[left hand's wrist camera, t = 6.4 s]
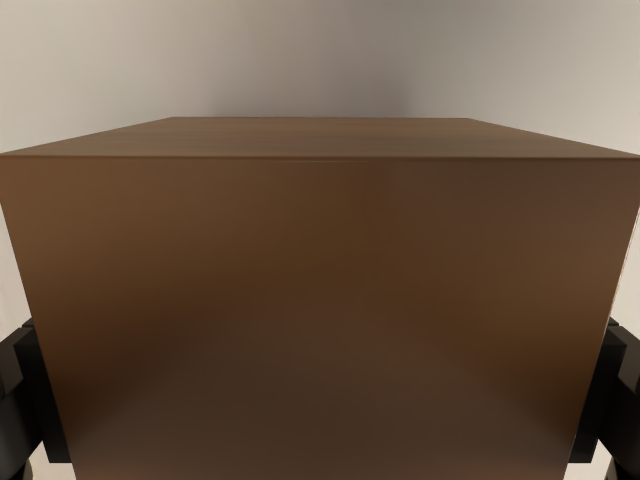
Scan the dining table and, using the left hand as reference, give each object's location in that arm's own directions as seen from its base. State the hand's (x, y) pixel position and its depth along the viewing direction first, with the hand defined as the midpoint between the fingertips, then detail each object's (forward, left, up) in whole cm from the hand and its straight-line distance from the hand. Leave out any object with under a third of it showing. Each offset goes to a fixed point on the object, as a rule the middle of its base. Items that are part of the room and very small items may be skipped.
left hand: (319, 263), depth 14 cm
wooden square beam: (+22, 0, -1) cm, 22 cm away
